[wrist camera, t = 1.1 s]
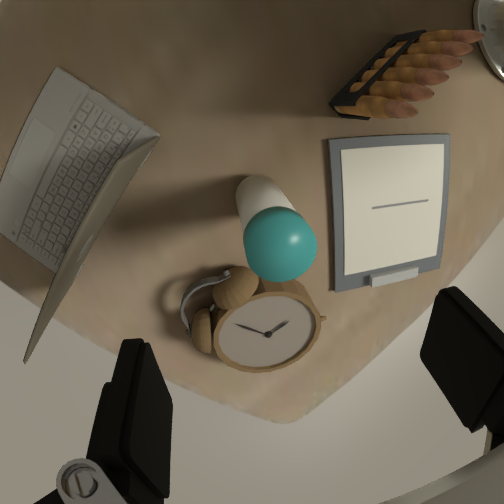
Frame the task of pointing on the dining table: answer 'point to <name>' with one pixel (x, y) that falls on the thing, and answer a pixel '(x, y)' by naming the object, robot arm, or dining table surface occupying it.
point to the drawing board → (387, 206)
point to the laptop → (68, 179)
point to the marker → (273, 231)
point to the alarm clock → (254, 321)
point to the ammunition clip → (403, 74)
